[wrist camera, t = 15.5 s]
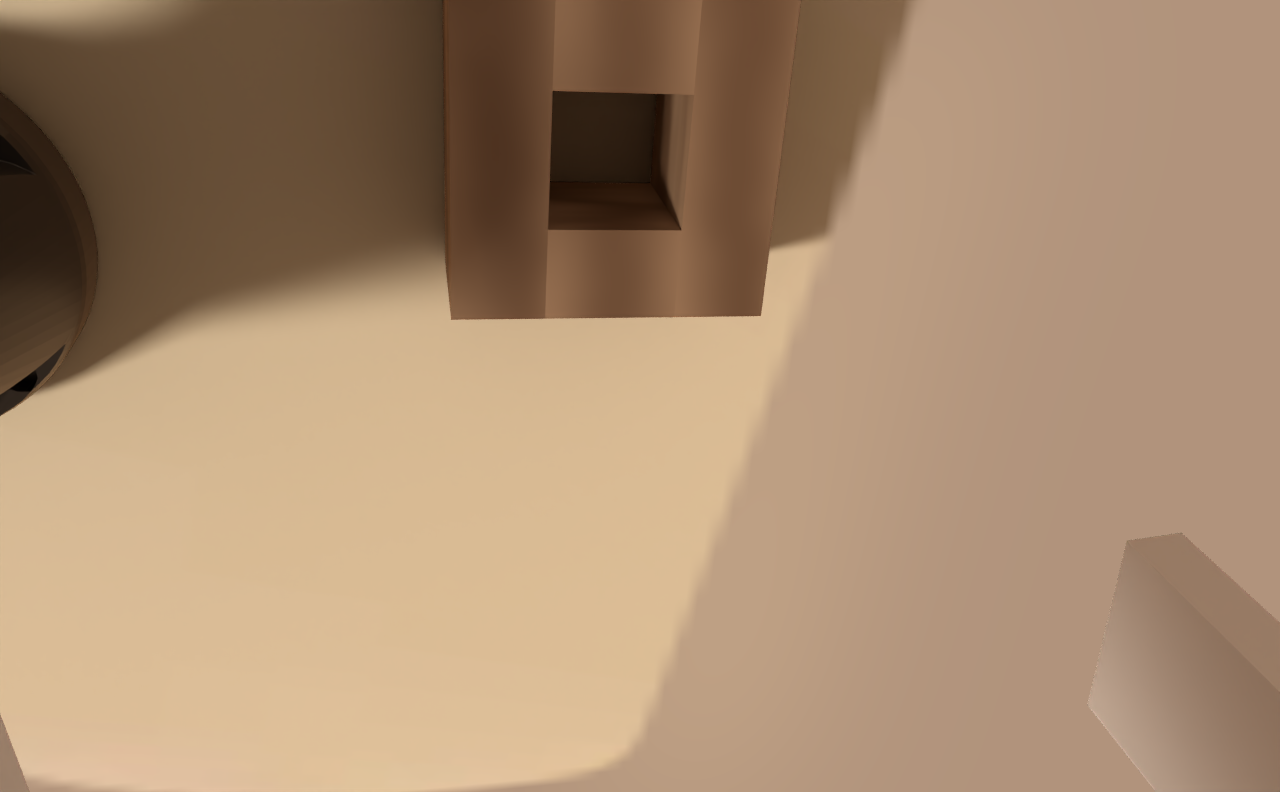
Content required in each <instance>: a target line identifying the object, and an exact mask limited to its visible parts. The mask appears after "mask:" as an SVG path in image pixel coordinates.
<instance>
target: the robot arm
mask: <svg viewBox="0 0 1280 792" xmlns="http://www.w3.org/2000/svg"><path fill="white" fill-rule="evenodd" d="M97 271H98V257H97V245H96V238H95V233H94V228H93V223H92V220H91V216H90V213H89V210H88V207H87V204H86V202H85V199H84V196H83V194H82V192H81V190H80V188H79V186H78V183H77V181H76V180H75V178H74V176H73V174H72V172H71V171H70V169H69V167H68V166H67V164H66V163H65V161H64V159H63V158H62V156H61V155H60V154H59V152H58V151H57V150H56V148H55V147H54V145H53V144H52V143H51V142H50V140H49V139H48V138H47V137H46V136H45V135H44V133H43V132H42V131H41V130H40V129H39V128H38V127H37V126H36V125H35V124H34V122H33V121H32V120H31V119H30V118H29V117H28V116H27V115H25V114H24V113H23V112H22V111H21V110H20V109H19V108H18V107H17V106H16V105H14V104H13V103H12V102H11V101H10V100H8V99H7V98H6V97H5V96H3V95H2V94H1V93H0V416H1V415H3V414H5V413H6V412H8V411H10V410H11V409H13V408H15V407H16V406H18V405H19V404H21V403H22V402H23V401H25V400H26V399H27V398H29V397H30V396H31V395H32V394H33V393H35V392H36V391H37V390H38V389H39V388H40V387H41V386H42V385H43V384H44V383H45V382H46V381H47V380H48V379H49V378H50V377H51V376H52V375H53V373H54V372H55V371H56V370H57V369H58V367H59V366H60V364H61V363H62V362H63V360H64V359H65V357H66V356H67V354H68V352H69V351H70V349H71V347H72V346H73V344H74V342H75V341H76V339H77V337H78V336H79V334H80V332H81V330H82V329H83V327H84V324H85V322H86V320H87V318H88V315H89V312H90V309H91V306H92V303H93V299H94V295H95V290H96V283H97ZM1088 706H1089V708H1090V709H1091V710H1092V711H1093V713H1094V714H1095V715H1096V717H1097V718H1098V719H1099V720H1100V722H1101V723H1102V724H1103V725H1104V727H1105V728H1106V729H1107V731H1108V732H1109V733H1110V734H1111V736H1112V737H1113V738H1114V739H1115V741H1116V742H1117V743H1118V745H1119V746H1120V747H1121V748H1122V750H1123V751H1124V752H1125V753H1126V755H1127V756H1128V757H1129V759H1130V760H1131V761H1132V762H1133V764H1134V765H1135V766H1136V767H1137V769H1138V770H1139V771H1140V772H1141V774H1142V775H1143V776H1144V778H1145V779H1146V780H1147V781H1148V783H1149V784H1150V785H1151V787H1152V788H1153V789H1154V790H1155V791H1156V792H1280V622H1278V621H1277V620H1276V619H1275V618H1274V617H1273V616H1272V615H1271V614H1270V613H1268V612H1267V611H1266V610H1265V609H1264V608H1263V607H1262V606H1261V605H1260V604H1259V603H1258V602H1256V601H1255V600H1254V599H1253V598H1252V597H1251V596H1250V595H1249V594H1248V593H1247V592H1246V591H1244V590H1243V589H1242V588H1241V587H1240V586H1239V585H1238V584H1237V583H1236V582H1235V581H1234V580H1232V579H1231V578H1230V577H1229V576H1228V575H1227V574H1226V573H1225V572H1224V571H1222V570H1221V569H1220V568H1219V567H1218V566H1217V565H1216V564H1215V563H1214V562H1213V561H1211V559H1209V558H1208V557H1207V556H1206V555H1205V554H1204V553H1203V552H1202V551H1201V550H1200V549H1199V548H1197V547H1196V546H1195V545H1194V544H1193V543H1192V542H1191V541H1190V540H1189V539H1188V538H1186V537H1185V536H1184V535H1183V534H1182V533H1176V534H1169V535H1162V536H1156V537H1149V538H1142V539H1135V540H1128V541H1127V542H1126V546H1125V550H1124V554H1123V559H1122V563H1121V567H1120V572H1119V575H1118V579H1117V584H1116V588H1115V592H1114V596H1113V600H1112V605H1111V609H1110V613H1109V617H1108V622H1107V625H1106V630H1105V634H1104V638H1103V642H1102V646H1101V651H1100V655H1099V659H1098V663H1097V667H1096V672H1095V676H1094V680H1093V684H1092V688H1091V692H1090V697H1089V701H1088ZM0 792H30V791H29V789H28V786H27V783H26V781H25V778H24V775H23V773H22V770H21V768H20V765H19V762H18V760H17V757H16V754H15V752H14V749H13V747H12V744H11V741H10V739H9V736H8V733H7V731H6V728H5V726H4V723H3V720H2V718H1V715H0Z"/></svg>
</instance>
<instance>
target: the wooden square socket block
mask: <svg viewBox="0 0 1280 792" xmlns="http://www.w3.org/2000/svg"><path fill="white" fill-rule="evenodd" d="M800 5H801V0H443V84H444V176H445V263H446V273H447V283H448V292H449V302H450V312H451V320H458V319H543V318H629V317H714V316H761V310H762V303H763V295H764V287H765V279H766V271H767V263H768V255H769V248H770V240H771V232H772V224H773V216H774V208H775V201H776V193H777V185H778V177H779V169H780V161H781V154H782V146H783V138H784V130H785V122H786V114H787V107H788V99H789V91H790V83H791V75H792V67H793V60H794V52H795V44H796V36H797V28H798V20H799V13H800ZM553 91H577V92H611V93H646V94H657V100H656V114H655V127H654V141H653V154H652V167H651V181H650V183H591V182H550V155H551V125H552V94H553Z"/></svg>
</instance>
